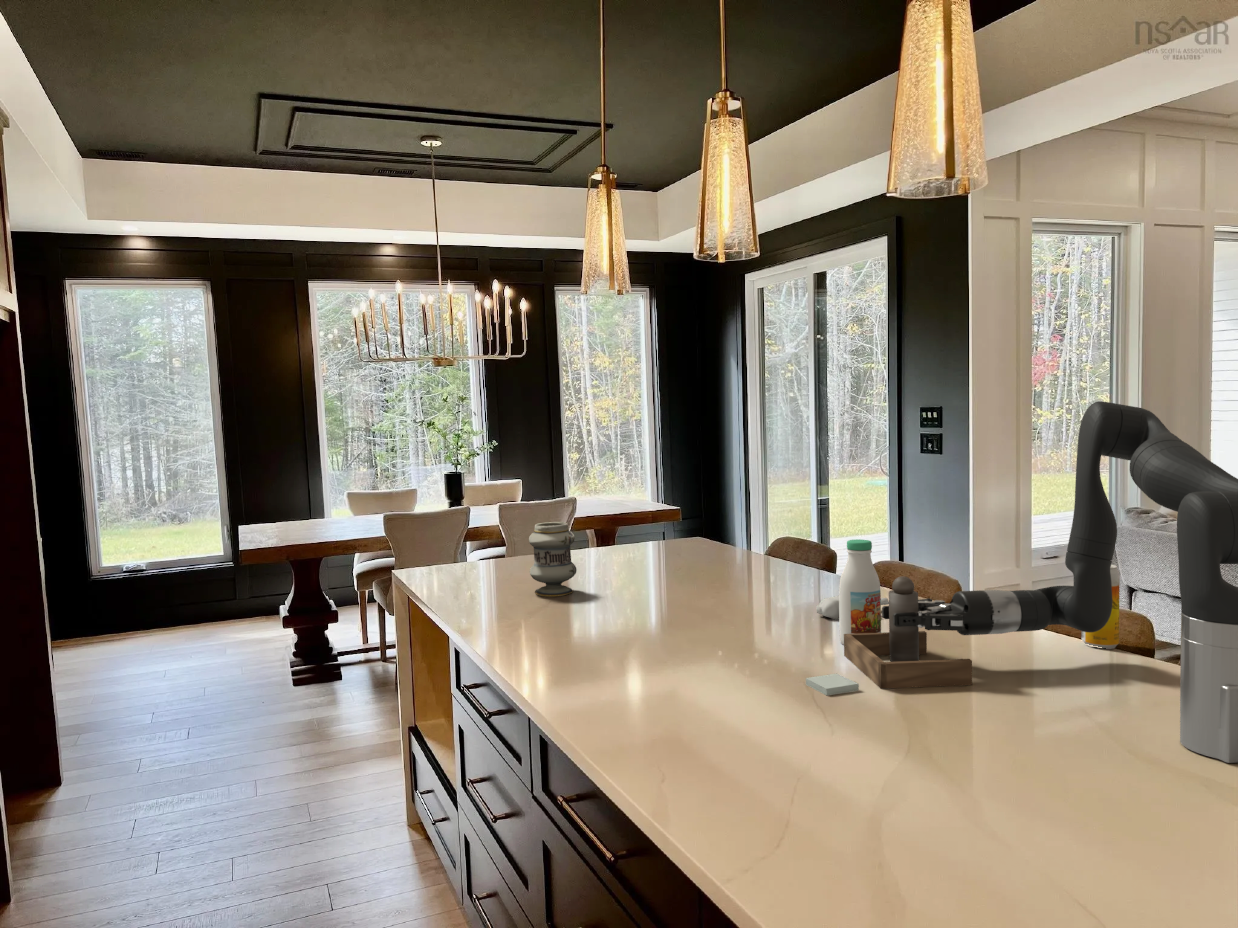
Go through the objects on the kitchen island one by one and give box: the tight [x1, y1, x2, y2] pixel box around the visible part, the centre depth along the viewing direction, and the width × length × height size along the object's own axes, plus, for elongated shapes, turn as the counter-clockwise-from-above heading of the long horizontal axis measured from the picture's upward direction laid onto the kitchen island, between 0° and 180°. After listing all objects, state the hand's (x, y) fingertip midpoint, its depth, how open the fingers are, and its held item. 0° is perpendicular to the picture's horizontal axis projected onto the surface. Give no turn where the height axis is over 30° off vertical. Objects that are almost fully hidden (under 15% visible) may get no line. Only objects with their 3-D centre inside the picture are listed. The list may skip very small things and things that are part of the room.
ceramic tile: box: [805, 672, 860, 696], centre depth 136 cm, size 6×6×2 cm
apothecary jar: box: [528, 521, 578, 597], centre depth 217 cm, size 12×12×18 cm
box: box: [843, 630, 973, 689], centre depth 145 cm, size 19×15×4 cm
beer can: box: [1081, 564, 1121, 650], centre depth 156 cm, size 6×6×15 cm
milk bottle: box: [838, 538, 882, 646], centre depth 161 cm, size 8×8×20 cm
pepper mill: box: [888, 575, 920, 662], centre depth 145 cm, size 5×5×15 cm
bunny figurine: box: [815, 594, 889, 620], centre depth 185 cm, size 10×5×15 cm
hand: (888, 616), depth 145 cm, fingers closed on pepper mill, 4 cm apart
